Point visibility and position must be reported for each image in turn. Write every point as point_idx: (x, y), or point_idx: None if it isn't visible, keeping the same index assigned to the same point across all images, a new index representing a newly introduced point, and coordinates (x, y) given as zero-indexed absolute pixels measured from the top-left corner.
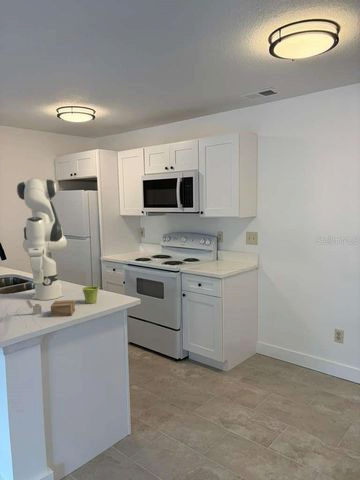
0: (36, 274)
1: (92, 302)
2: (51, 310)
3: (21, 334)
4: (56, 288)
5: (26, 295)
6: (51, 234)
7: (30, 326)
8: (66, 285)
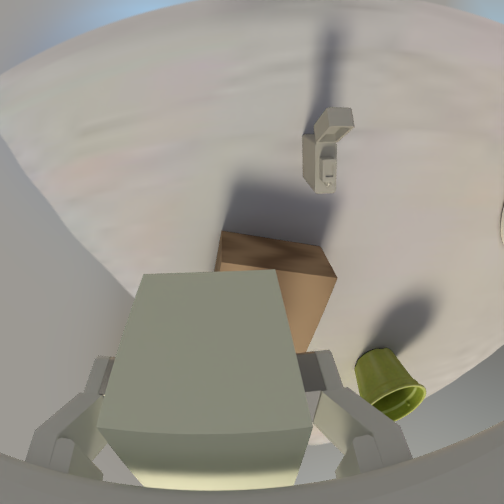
0: (70, 415)
1: (355, 370)
2: (220, 251)
3: (7, 137)
4: None
5: None
6: None
7: (92, 148)
8: None
